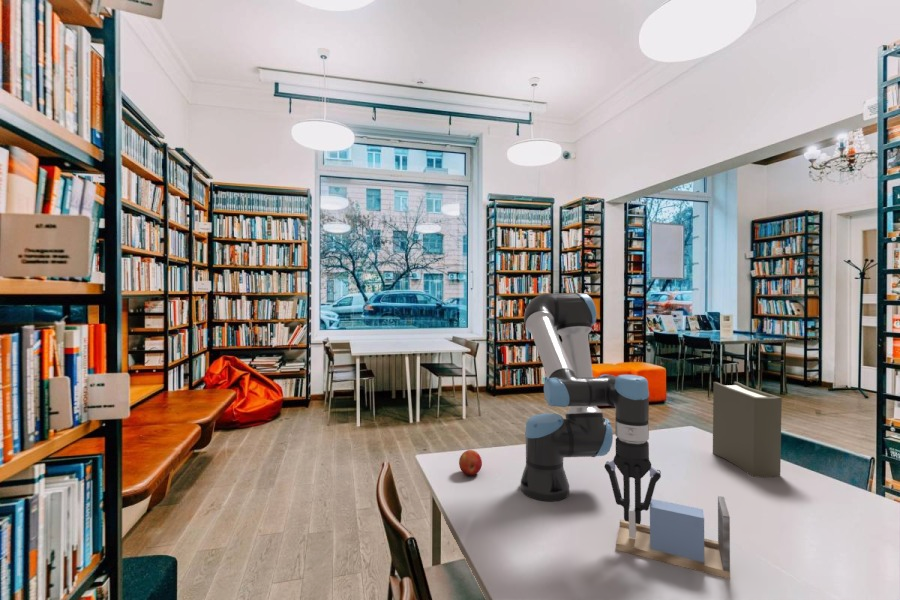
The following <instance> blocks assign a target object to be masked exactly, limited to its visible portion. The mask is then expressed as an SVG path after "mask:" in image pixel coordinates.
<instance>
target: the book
mask: <svg viewBox="0 0 900 600" xmlns="http://www.w3.org/2000/svg"><path fill="white" fill-rule="evenodd" d="M712 395H713V396H712V397H713V400H712V401H713V402H712V403H713V404H712V409H713V410H712V454H714V455H715V456H717V457H720V458H722V459H724V460H726V461H728V462H730V463H731V464H733V465H734V466H737V467H738V468H740V469H741V470H743V471H744V472H746V473H747V472H748V474H749V475H750V474H751V476H752V475H753V476H752V477H755V476H759V477H758V478H776V477H780V476H781V460H782V459H781V456H782V455H781V454H782V451H781V450H782V449H781V448H782V405H783V403H782V401H783V400H782V399H783V397H780V396H777V395H774V394H770V393H768V392H765V391H761V390H759V389H756V388H752V387H749V386H747V385H744V384H742V383H740V382H738V381H733V384H732V385H730V384H729V385H728V384H727V385H725V384H722V383H720V382H718V381H713V393H712Z"/></svg>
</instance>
